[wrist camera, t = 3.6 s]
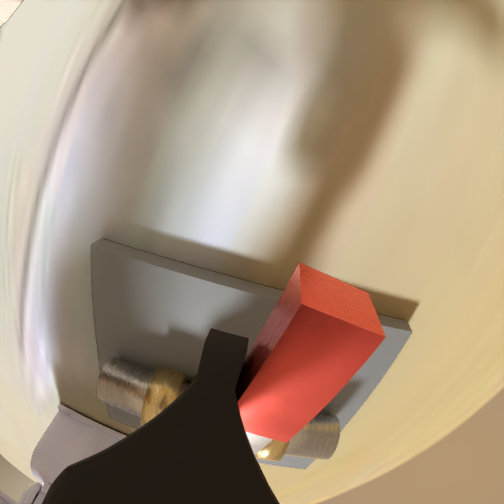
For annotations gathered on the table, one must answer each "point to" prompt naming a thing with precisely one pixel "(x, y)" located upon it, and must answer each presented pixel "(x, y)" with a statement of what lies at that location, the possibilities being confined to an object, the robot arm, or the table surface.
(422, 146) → the table surface
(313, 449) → the valve
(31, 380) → the table surface
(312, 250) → the table surface
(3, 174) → the table surface
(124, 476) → the robot arm
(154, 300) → the base board
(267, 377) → the lever
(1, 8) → the white cup
